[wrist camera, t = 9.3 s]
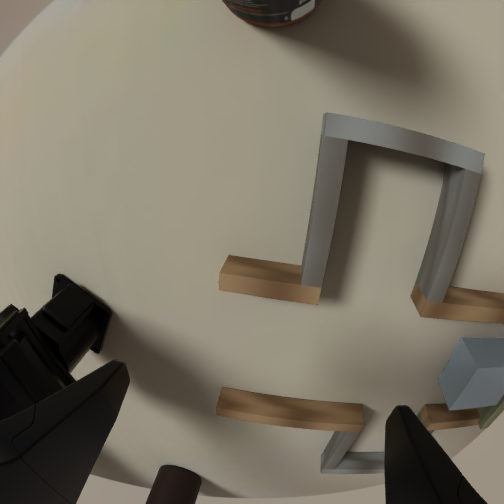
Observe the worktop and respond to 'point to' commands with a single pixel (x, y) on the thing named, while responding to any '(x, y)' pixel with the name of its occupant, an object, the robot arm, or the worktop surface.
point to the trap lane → (423, 295)
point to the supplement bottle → (271, 11)
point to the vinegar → (174, 486)
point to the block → (474, 374)
